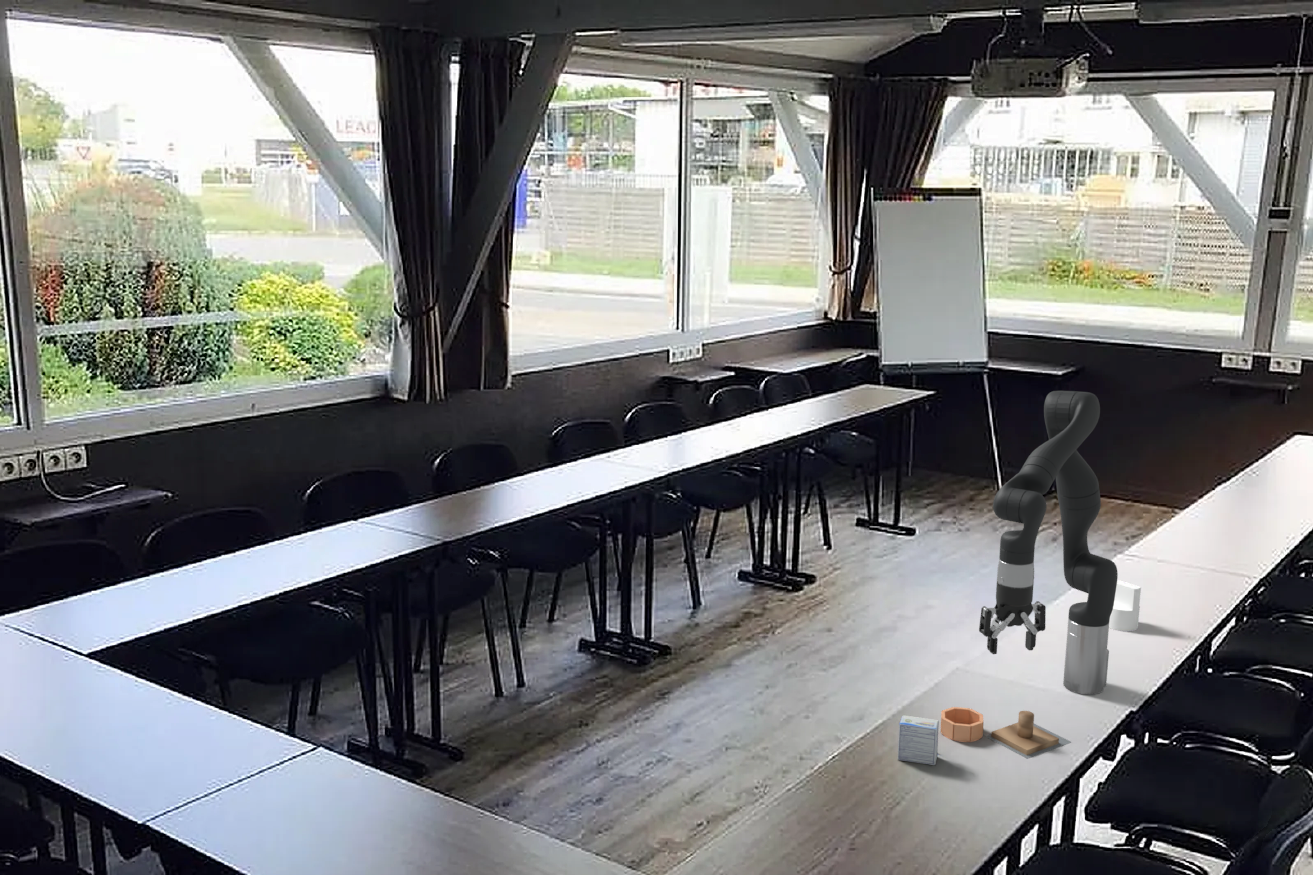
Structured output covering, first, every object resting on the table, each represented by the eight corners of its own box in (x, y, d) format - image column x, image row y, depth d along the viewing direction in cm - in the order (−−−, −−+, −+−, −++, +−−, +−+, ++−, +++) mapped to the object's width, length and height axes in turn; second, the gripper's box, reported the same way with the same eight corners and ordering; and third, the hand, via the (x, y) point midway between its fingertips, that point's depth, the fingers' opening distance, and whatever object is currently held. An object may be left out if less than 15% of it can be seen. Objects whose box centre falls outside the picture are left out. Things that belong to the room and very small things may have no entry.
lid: (1022, 725, 267) (1024, 700, 266) (1058, 743, 259) (1060, 717, 257) (991, 736, 262) (992, 710, 261) (1026, 755, 254) (1028, 728, 252)
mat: (1028, 722, 270) (1028, 720, 270) (1071, 744, 260) (1071, 741, 260) (984, 738, 262) (984, 736, 262) (1026, 760, 253) (1027, 758, 252)
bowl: (960, 722, 270) (961, 704, 269) (990, 738, 263) (992, 719, 262) (931, 732, 266) (932, 713, 265) (961, 748, 258) (962, 729, 257)
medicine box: (937, 757, 254) (939, 719, 252) (935, 766, 250) (937, 728, 248) (900, 751, 257) (901, 714, 255) (897, 760, 253) (899, 723, 251)
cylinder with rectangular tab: (1144, 626, 325) (1148, 585, 322) (1124, 634, 320) (1128, 591, 317) (1115, 616, 332) (1119, 575, 330) (1095, 623, 327) (1099, 582, 325)
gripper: (1036, 571, 258) (1032, 641, 262) (976, 576, 256) (972, 647, 259) (1055, 583, 251) (1050, 654, 255) (992, 588, 248) (988, 661, 252)
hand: (1010, 651), depth 257 cm, fingers open, 8 cm apart
